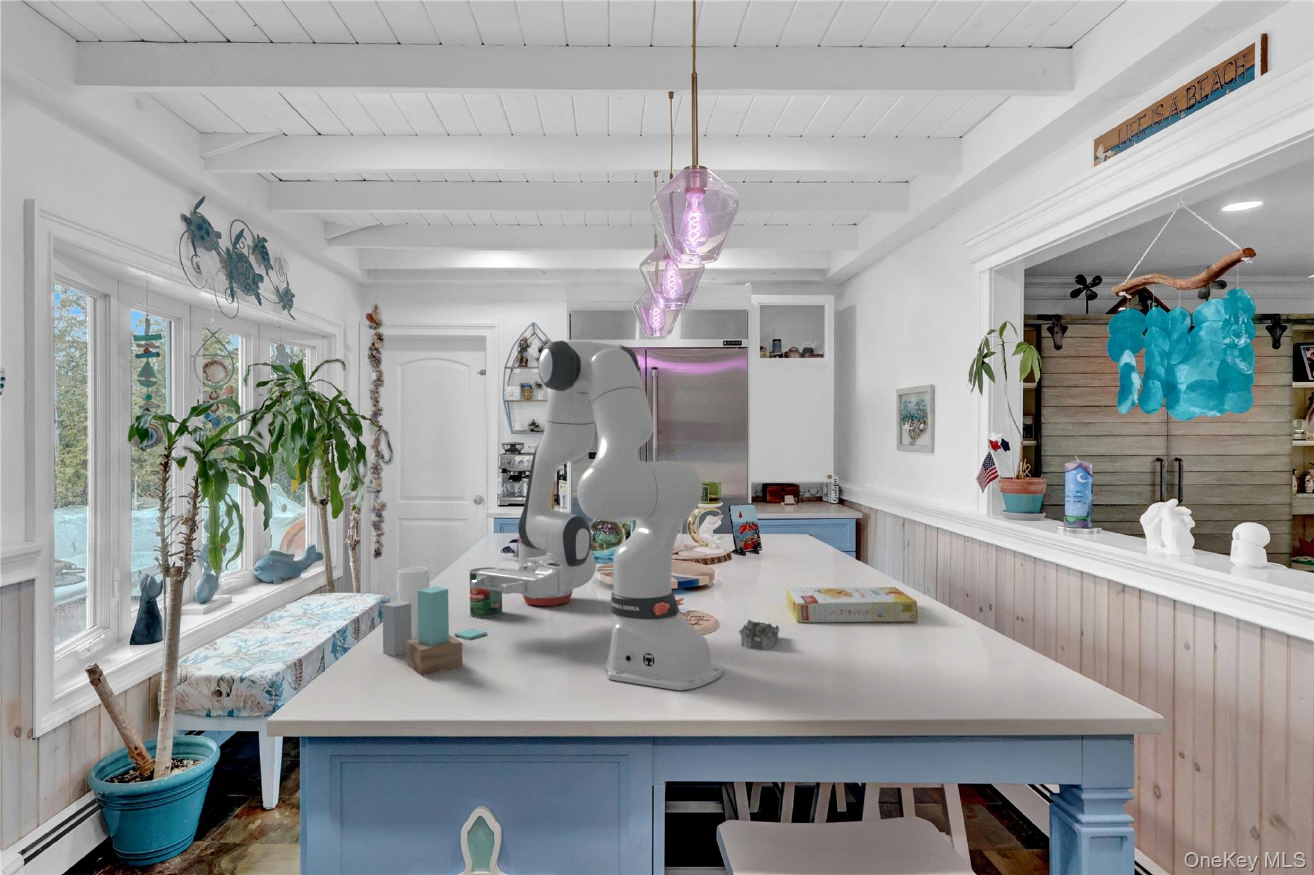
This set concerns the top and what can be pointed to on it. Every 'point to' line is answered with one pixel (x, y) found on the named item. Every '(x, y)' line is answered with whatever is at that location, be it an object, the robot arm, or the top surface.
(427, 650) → the base block
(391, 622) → the grey block
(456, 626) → the top surface
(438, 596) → the teal block
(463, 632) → the tile
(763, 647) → the egg carton
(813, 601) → the cereal box
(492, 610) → the canned tomato
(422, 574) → the drinking glass
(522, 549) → the citrus juicer
